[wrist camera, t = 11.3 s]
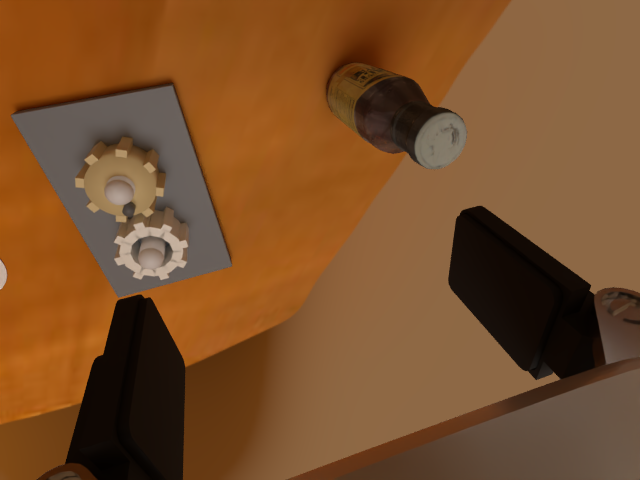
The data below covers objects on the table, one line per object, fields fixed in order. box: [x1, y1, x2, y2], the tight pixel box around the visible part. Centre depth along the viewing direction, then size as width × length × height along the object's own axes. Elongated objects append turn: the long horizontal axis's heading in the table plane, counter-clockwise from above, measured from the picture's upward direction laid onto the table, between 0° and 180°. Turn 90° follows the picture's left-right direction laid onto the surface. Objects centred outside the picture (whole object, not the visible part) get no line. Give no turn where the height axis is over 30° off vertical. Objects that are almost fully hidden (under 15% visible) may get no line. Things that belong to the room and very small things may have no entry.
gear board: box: [11, 83, 232, 298], centre depth 38 cm, size 22×14×8 cm, turn 8°
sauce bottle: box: [326, 63, 467, 169], centre depth 33 cm, size 6×6×20 cm
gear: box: [114, 207, 189, 280], centre depth 40 cm, size 7×7×4 cm
